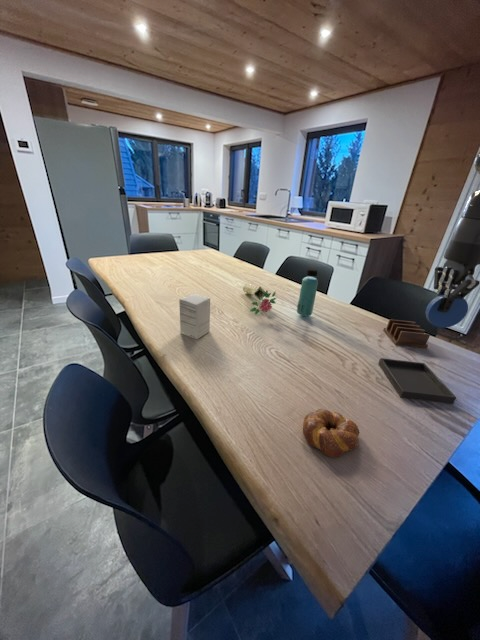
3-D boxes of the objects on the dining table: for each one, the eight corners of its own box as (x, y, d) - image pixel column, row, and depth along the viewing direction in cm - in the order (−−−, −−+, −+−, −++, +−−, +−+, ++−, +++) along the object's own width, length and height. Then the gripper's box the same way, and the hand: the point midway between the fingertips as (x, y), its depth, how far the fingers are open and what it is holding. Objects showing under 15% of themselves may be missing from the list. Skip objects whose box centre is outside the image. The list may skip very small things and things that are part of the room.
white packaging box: (193, 325, 95) (193, 292, 90) (210, 331, 92) (211, 297, 86) (179, 333, 89) (178, 298, 84) (196, 340, 86) (196, 304, 81)
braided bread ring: (342, 414, 61) (346, 401, 60) (370, 456, 52) (376, 443, 50) (293, 417, 59) (296, 404, 58) (312, 461, 50) (316, 448, 48)
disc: (445, 330, 71) (472, 303, 67) (448, 333, 69) (476, 305, 65) (417, 315, 70) (443, 287, 66) (420, 318, 68) (447, 289, 64)
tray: (421, 368, 81) (424, 363, 80) (453, 403, 67) (456, 397, 66) (378, 363, 82) (380, 358, 81) (400, 397, 68) (403, 391, 67)
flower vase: (253, 308, 133) (280, 325, 100) (230, 301, 129) (251, 317, 96) (261, 286, 131) (291, 296, 98) (238, 278, 127) (261, 286, 94)
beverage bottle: (313, 315, 111) (323, 269, 103) (308, 321, 106) (318, 272, 97) (298, 311, 114) (307, 266, 105) (293, 316, 109) (301, 269, 100)
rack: (411, 333, 103) (416, 321, 101) (427, 348, 93) (432, 335, 91) (383, 330, 104) (387, 318, 101) (395, 344, 94) (400, 331, 91)
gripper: (513, 247, 54) (473, 323, 61) (467, 237, 66) (439, 302, 74) (474, 243, 54) (440, 319, 62) (436, 234, 66) (411, 298, 74)
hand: (439, 309), depth 68 cm, fingers closed on disc, 1 cm apart
